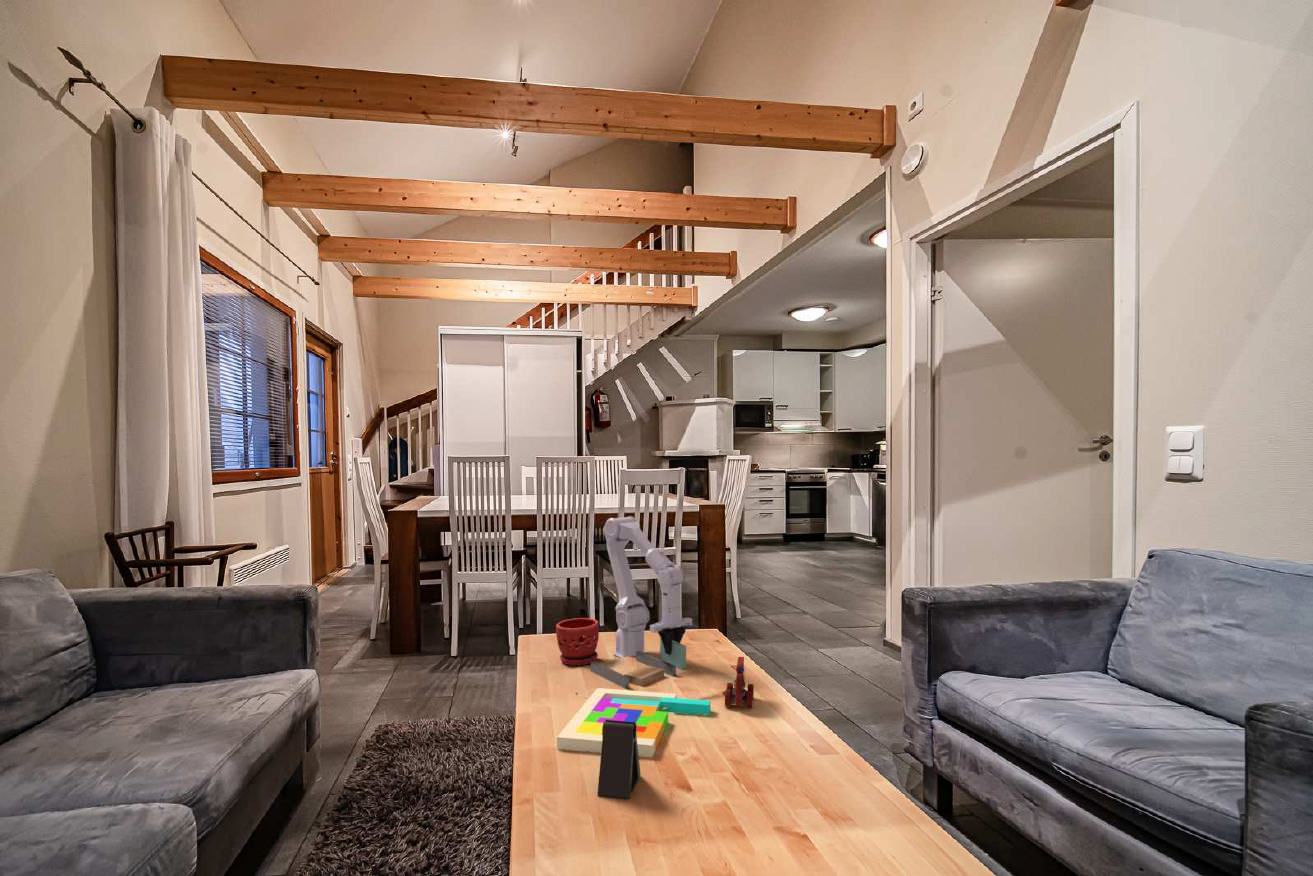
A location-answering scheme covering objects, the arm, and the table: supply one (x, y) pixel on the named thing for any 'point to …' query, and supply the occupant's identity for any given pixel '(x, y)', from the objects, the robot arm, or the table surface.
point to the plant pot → (578, 640)
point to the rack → (624, 680)
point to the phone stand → (618, 759)
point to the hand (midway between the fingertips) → (671, 653)
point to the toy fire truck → (739, 689)
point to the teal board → (674, 654)
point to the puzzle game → (625, 718)
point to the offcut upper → (645, 675)
